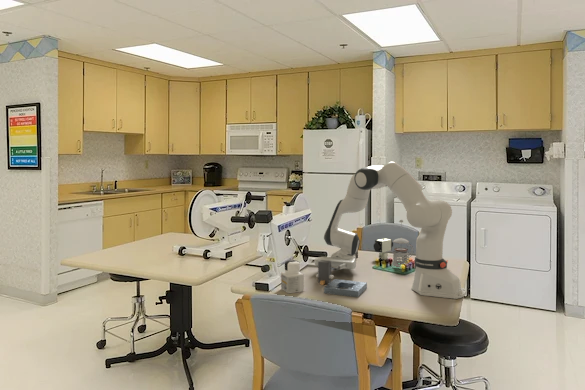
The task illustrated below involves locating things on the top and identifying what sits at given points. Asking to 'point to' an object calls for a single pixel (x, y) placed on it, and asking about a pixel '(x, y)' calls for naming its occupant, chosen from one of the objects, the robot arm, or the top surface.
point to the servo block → (324, 272)
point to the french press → (402, 250)
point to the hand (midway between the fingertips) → (330, 266)
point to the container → (292, 277)
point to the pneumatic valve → (383, 247)
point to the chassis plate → (352, 287)
